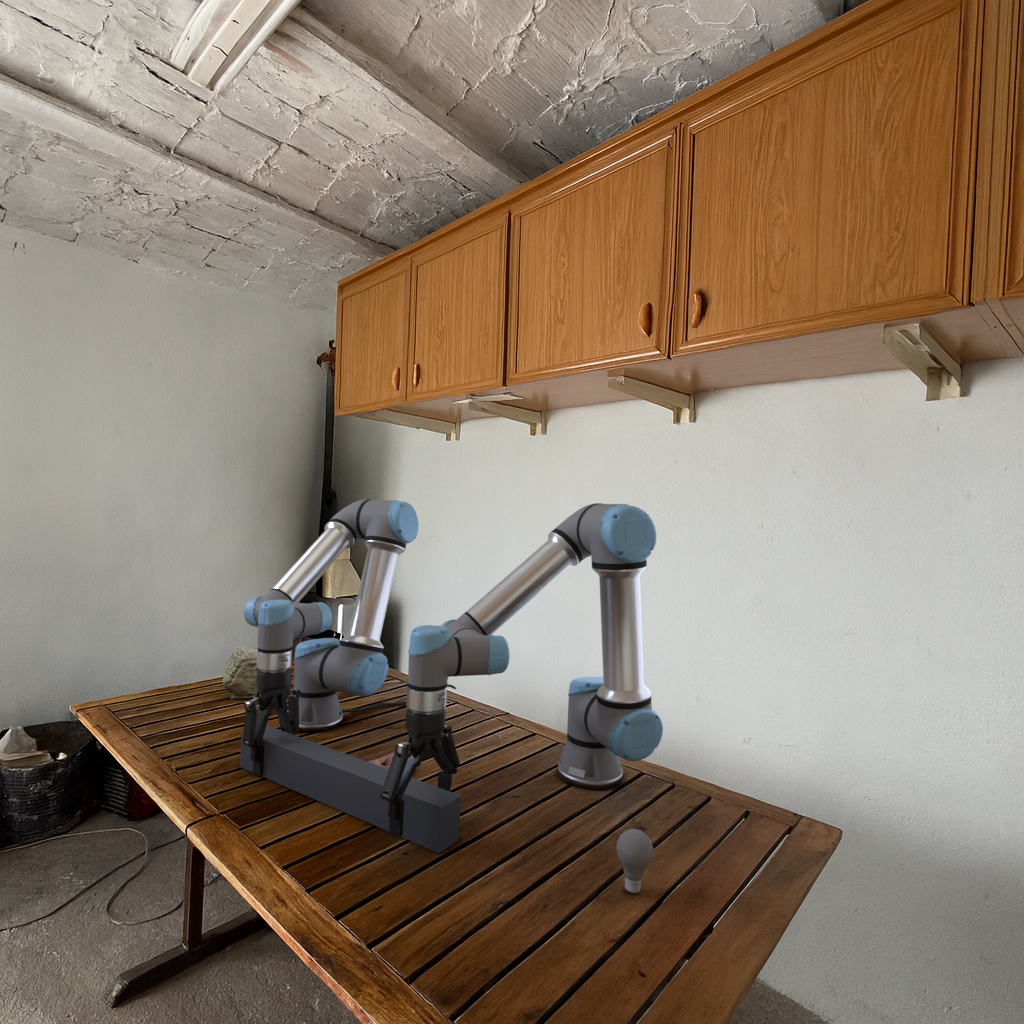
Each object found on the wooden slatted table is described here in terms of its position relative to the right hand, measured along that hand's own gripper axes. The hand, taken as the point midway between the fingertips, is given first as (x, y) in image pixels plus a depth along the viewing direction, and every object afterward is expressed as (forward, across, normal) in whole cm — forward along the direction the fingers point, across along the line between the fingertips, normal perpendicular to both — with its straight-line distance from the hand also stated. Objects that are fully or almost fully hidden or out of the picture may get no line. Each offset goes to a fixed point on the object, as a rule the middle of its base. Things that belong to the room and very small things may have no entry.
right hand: (420, 819), depth 121 cm
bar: (+3, 0, +22) cm, 23 cm away
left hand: (+3, 0, +45) cm, 45 cm away
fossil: (+3, +31, +95) cm, 100 cm away
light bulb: (+3, +8, -40) cm, 41 cm away
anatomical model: (+3, +16, +25) cm, 30 cm away
